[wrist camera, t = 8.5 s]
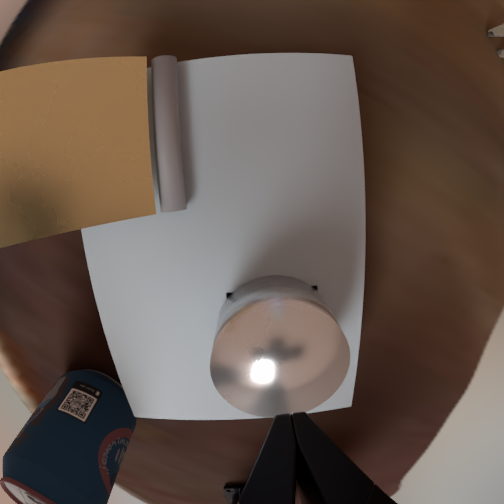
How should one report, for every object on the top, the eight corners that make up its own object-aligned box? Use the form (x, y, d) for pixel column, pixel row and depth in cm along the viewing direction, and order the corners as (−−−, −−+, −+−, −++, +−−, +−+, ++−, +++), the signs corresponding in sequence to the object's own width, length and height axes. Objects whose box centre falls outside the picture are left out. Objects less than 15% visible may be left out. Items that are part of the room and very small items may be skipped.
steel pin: (310, 322, 18) (344, 409, 11) (228, 329, 18) (219, 421, 11) (309, 243, 17) (355, 298, 10) (219, 250, 17) (199, 311, 10)
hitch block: (330, 357, 19) (356, 418, 14) (154, 368, 19) (129, 428, 14) (324, 85, 15) (360, 47, 9) (114, 107, 15) (60, 84, 9)
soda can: (136, 436, 21) (99, 549, 10) (65, 406, 21) (7, 502, 9) (145, 382, 20) (91, 520, 8) (63, 348, 19) (-24, 454, 7)
